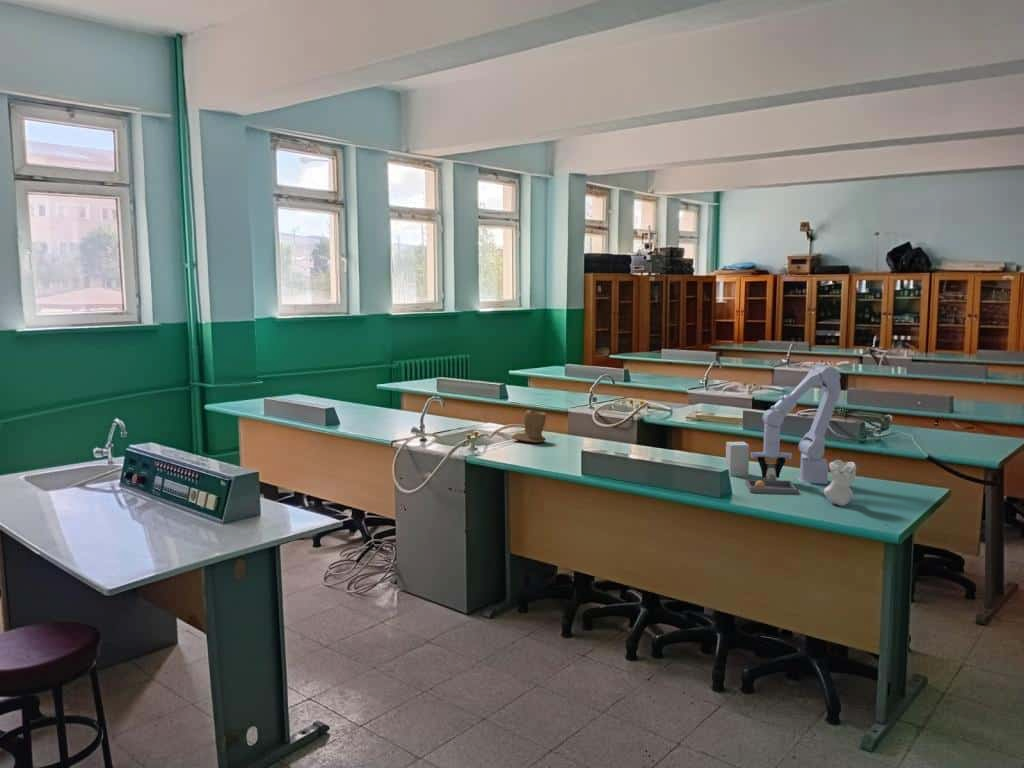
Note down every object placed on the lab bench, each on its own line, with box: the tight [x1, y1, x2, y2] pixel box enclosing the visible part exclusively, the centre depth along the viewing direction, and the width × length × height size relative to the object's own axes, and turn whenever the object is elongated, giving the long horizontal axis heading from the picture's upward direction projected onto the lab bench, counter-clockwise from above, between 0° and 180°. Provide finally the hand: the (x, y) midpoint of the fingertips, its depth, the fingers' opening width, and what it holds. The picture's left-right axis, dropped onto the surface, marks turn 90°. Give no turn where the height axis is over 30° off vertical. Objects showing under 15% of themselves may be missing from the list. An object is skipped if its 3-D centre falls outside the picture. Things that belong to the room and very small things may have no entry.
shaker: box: [763, 461, 778, 481], centre depth 297 cm, size 5×5×7 cm
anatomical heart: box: [823, 459, 857, 507], centre depth 265 cm, size 10×11×15 cm
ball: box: [755, 481, 765, 488], centre depth 284 cm, size 4×4×4 cm
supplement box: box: [725, 441, 750, 477], centre depth 308 cm, size 7×7×13 cm
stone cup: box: [511, 409, 547, 443], centre depth 375 cm, size 15×12×15 cm
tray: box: [744, 479, 798, 495], centre depth 286 cm, size 16×12×2 cm
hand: (770, 477), depth 297 cm, fingers closed on shaker, 4 cm apart
